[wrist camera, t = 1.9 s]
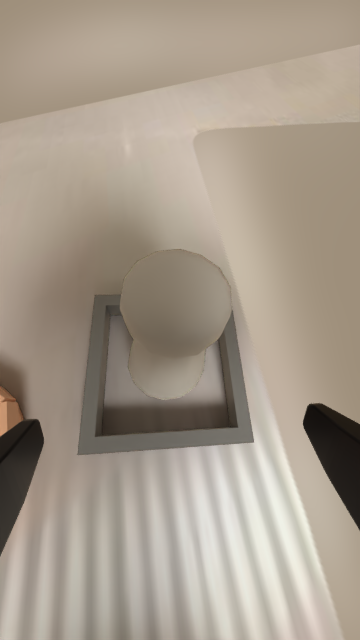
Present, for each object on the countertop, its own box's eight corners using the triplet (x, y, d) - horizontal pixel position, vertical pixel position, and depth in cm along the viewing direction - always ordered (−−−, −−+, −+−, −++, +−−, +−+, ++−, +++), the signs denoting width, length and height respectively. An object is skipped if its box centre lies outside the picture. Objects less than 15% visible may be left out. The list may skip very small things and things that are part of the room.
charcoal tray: (244, 440, 18) (254, 442, 16) (86, 451, 17) (77, 455, 15) (224, 304, 23) (229, 294, 21) (100, 305, 21) (95, 294, 20)
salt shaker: (156, 417, 18) (154, 412, 6) (118, 359, 20) (59, 266, 8) (212, 374, 20) (294, 304, 8) (173, 324, 21) (193, 203, 9)
